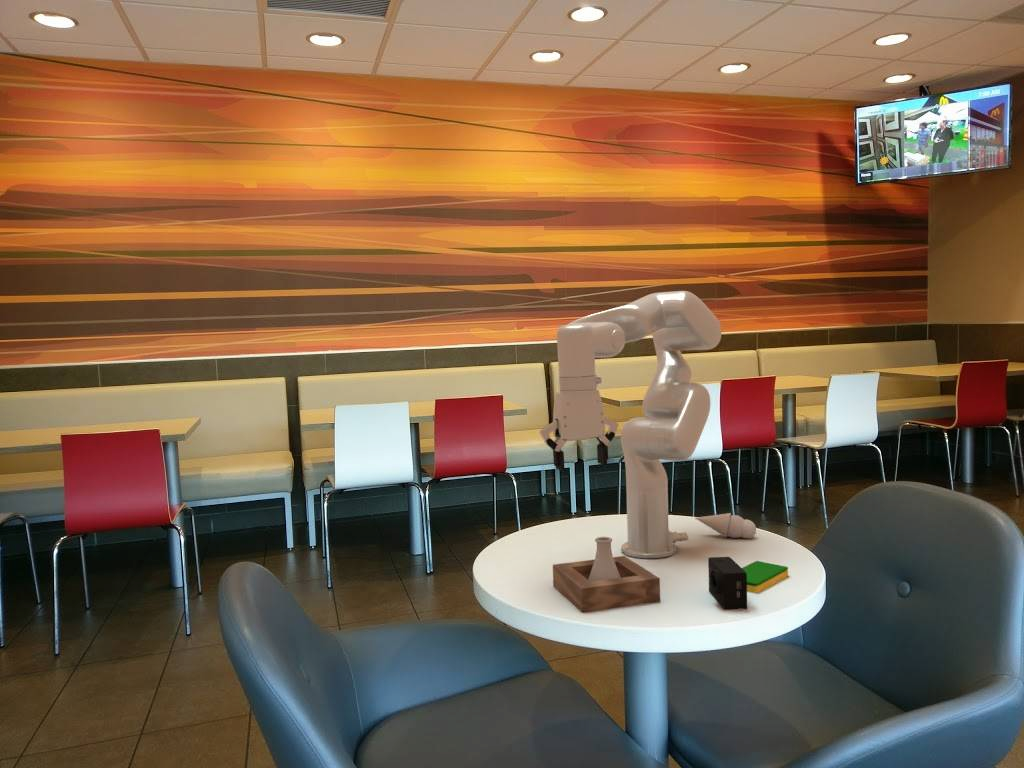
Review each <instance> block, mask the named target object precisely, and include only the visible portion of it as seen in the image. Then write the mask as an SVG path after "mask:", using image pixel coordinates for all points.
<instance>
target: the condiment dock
mask: <svg viewBox="0 0 1024 768" xmlns="http://www.w3.org/2000/svg"><path fill="white" fill-rule="evenodd" d="M613 559H614V562H615V564H616V567H617V570H618V572H619V574H620V577H621V578H616V579H608V580H600V581H593V582H590V581H589V580H588V579H589V576H590V573H591V570H592V567H593V564H594V561H595V559H590V560H580V561H573V562H566V563H556V564H555V563H554V564H552V585H553V587H554V588H555V589H556V590H557V591H558V592H559V593H561V595H562V596H563V597H565V599H567V600H568V601H569V602H570V603H571V604H572V605H573V606H575V608H577V610H579V611H580V612H581V613H588V612H589V613H590V612H593V611H595V612H596V611H601V610H608V609H614V608H615V609H616V608H624V607H629V606H636V605H637V606H638V605H643V604H651V603H656V602H657V603H658V602H661V580H660V577H658V576H657V575H655V574H654V573H653V572H651V571H649V570H648V569H646V568H644V567H643V566H641V565H639V564H638V563H636V562H635V561H634V560H632V559H630V558H628V557H627V556H625V555H620V556H613Z"/></svg>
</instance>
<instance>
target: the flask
mask: <svg viewBox="0 0 1024 768" xmlns="http://www.w3.org/2000/svg"><path fill="white" fill-rule="evenodd" d="M594 541H595V542H596V551H595V552H596V553H595V558H594V560H595V561H594V564H593V567H592V570H591V573H590V576H589V579H588V580H589V581H590V582H593V581H600V580H608V579H616V578H621V577H620V574H619V572H618V570H617V567H616V564H615V562H614V559H613V557H614V555H613V552H612V544H611V543H612V541H613V538H611V537H609V536H598V537H596V538H594Z"/></svg>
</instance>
